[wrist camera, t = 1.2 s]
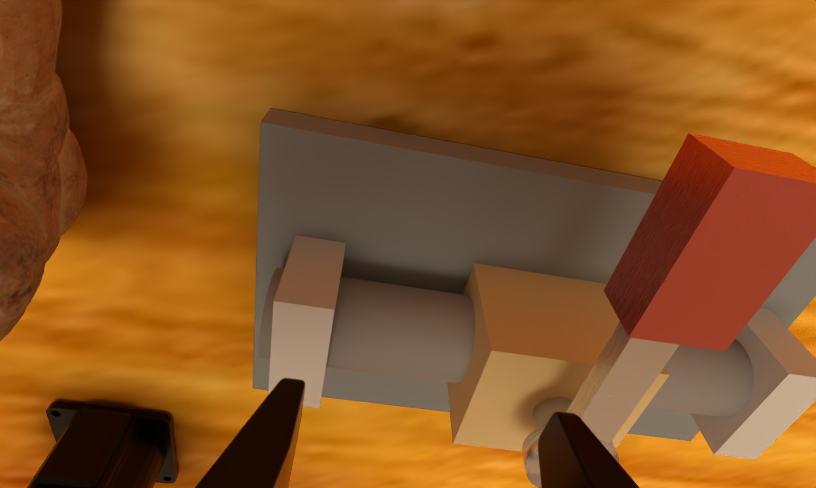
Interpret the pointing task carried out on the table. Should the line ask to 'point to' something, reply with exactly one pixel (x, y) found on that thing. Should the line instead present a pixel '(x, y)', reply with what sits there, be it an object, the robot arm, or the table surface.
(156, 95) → the table surface
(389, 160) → the valve board
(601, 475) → the robot arm
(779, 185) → the lever
